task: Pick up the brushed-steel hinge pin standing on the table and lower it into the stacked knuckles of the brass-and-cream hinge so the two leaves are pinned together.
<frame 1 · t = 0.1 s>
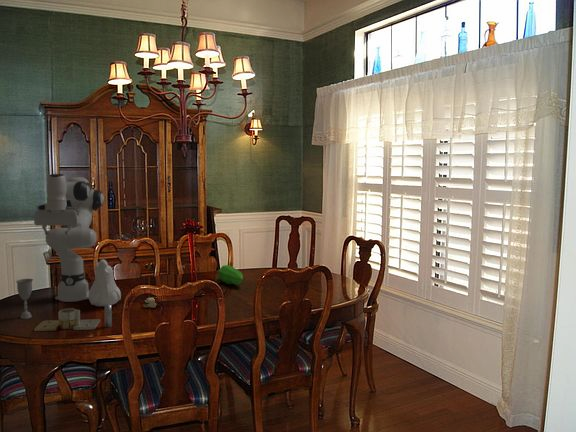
hand: (56, 234, 244), 39 cm above the table, tool pointing down, fingers open, 8 cm apart
chalice: (26, 317, 239), on the table
pin: (108, 326, 227), on the table
cat figure: (167, 305, 262), on the table
hinge: (68, 326, 226), on the table
green ridged rounded cylinder: (230, 284, 308), on the table
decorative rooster: (105, 303, 263), on the table
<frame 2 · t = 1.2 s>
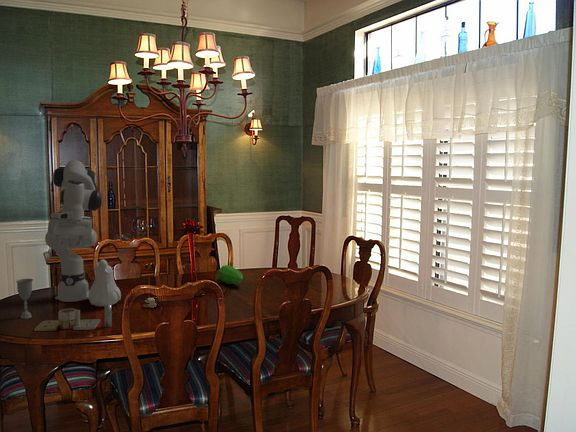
hand: (69, 245, 228), 37 cm above the table, tool pointing down, fingers open, 8 cm apart
nothing on the table moved.
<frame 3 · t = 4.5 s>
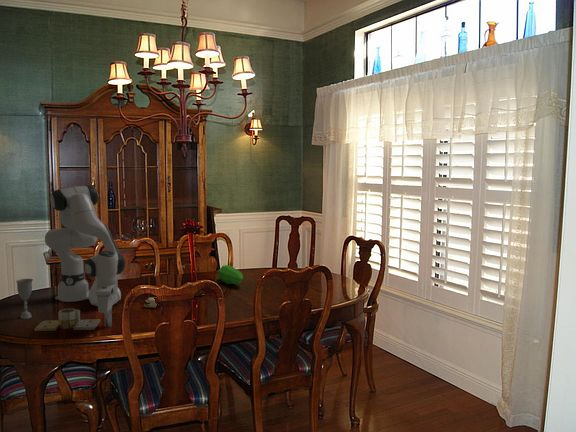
hand: (108, 316, 227), 5 cm above the table, tool pointing down, fingers closed on pin, 3 cm apart
pin: (108, 326, 227), on the table, touching gripper
everything else where it was.
when the fingers open (9 cm above the table, at t = 9.2 s): pin drops 4 cm, resting in hinge.
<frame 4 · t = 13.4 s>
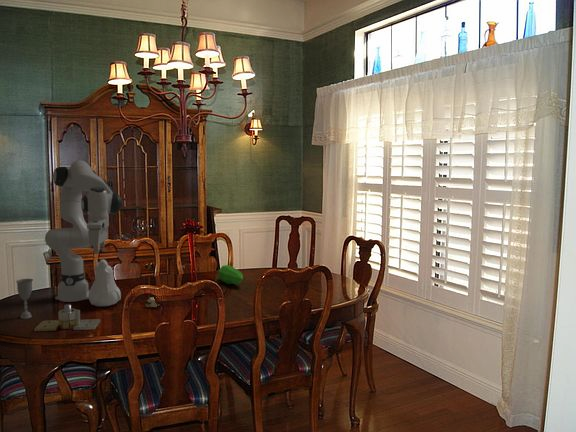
hand: (99, 252, 231), 33 cm above the table, tool pointing down, fingers open, 8 cm apart
pin: (68, 326, 227), resting in hinge
at the end: pin 0.1 cm off-centre on the hinge, point 0.0 cm above the hinge's base; pin tilted 0°; the gripper is holding nothing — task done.
